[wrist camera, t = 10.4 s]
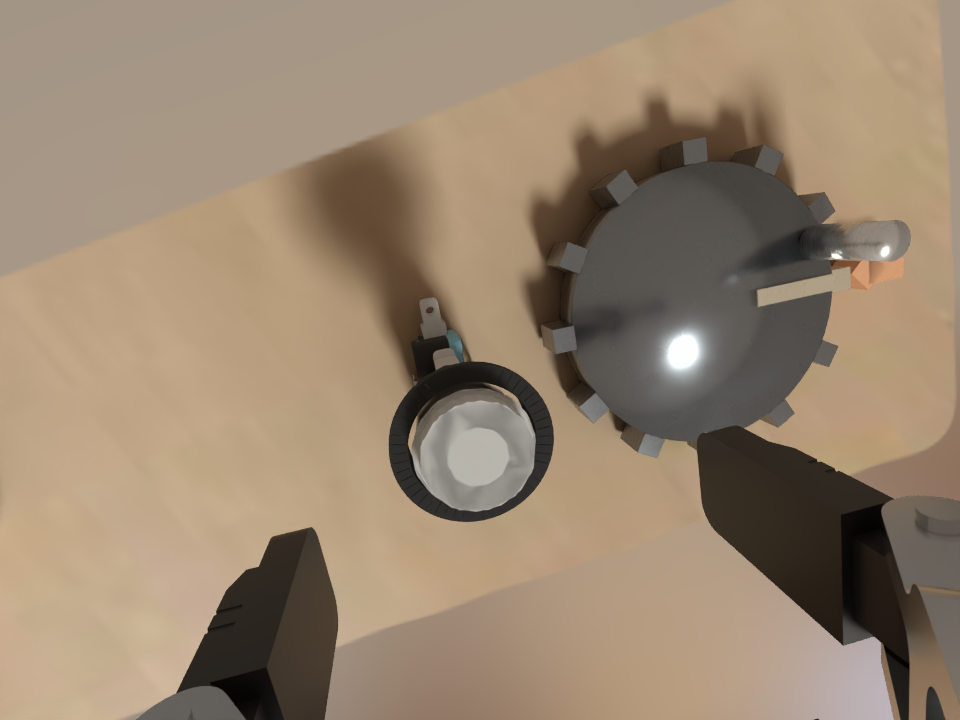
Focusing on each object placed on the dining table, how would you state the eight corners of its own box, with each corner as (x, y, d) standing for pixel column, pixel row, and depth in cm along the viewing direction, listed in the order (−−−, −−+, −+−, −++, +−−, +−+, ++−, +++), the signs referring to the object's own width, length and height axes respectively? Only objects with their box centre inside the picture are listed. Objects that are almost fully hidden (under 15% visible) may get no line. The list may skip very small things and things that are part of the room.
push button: (370, 308, 24) (359, 348, 15) (483, 285, 25) (542, 309, 15) (402, 441, 26) (410, 556, 16) (507, 416, 27) (574, 513, 17)
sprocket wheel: (563, 475, 27) (610, 536, 22) (516, 174, 24) (557, 151, 18) (822, 410, 29) (929, 451, 23) (813, 122, 26) (936, 86, 20)
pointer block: (827, 291, 28) (851, 293, 27) (826, 254, 28) (851, 254, 26) (877, 280, 28) (903, 282, 27) (877, 243, 28) (903, 243, 27)
